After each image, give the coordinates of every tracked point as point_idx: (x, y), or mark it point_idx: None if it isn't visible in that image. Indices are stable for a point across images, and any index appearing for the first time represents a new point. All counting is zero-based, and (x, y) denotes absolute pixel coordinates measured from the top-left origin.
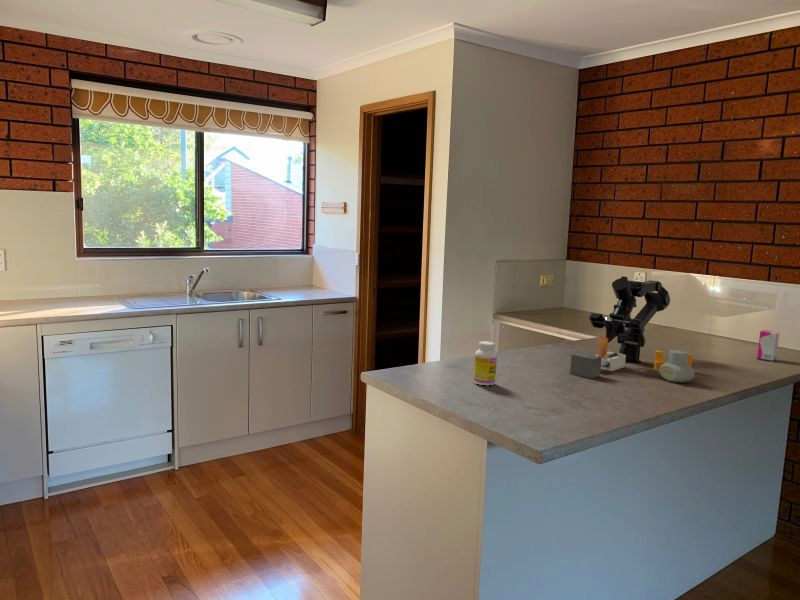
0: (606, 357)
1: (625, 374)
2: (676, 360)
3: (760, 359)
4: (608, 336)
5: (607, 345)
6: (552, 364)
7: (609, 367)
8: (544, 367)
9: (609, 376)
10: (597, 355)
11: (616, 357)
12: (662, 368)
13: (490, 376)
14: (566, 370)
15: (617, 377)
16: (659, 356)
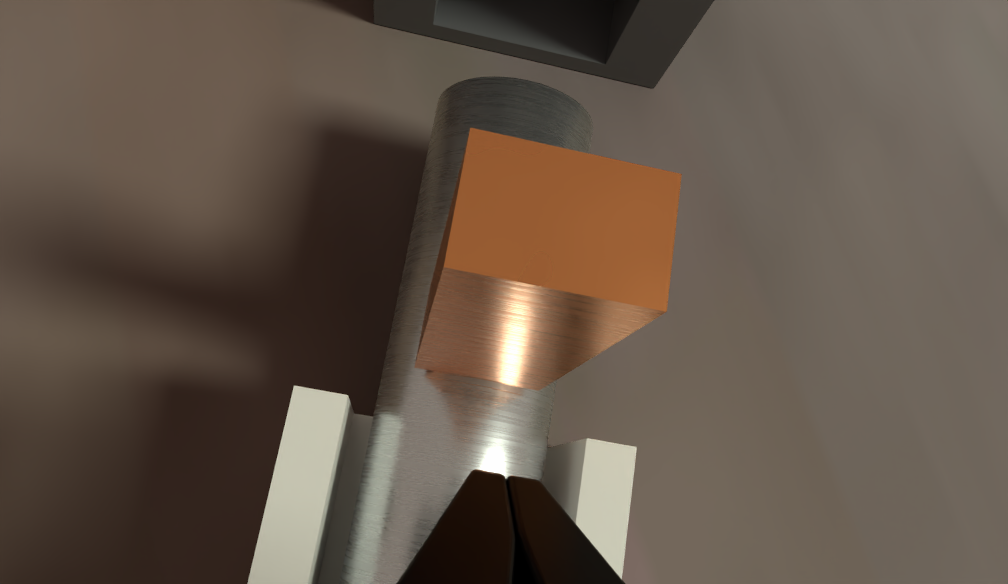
0: (418, 391)
1: (99, 353)
2: None
3: None
4: (510, 537)
5: (429, 319)
6: (1000, 224)
7: (352, 412)
8: (980, 26)
9: (272, 89)
10: (599, 457)
11: (262, 566)
12: None
13: None
14: (764, 47)
15: (170, 104)
16: None
